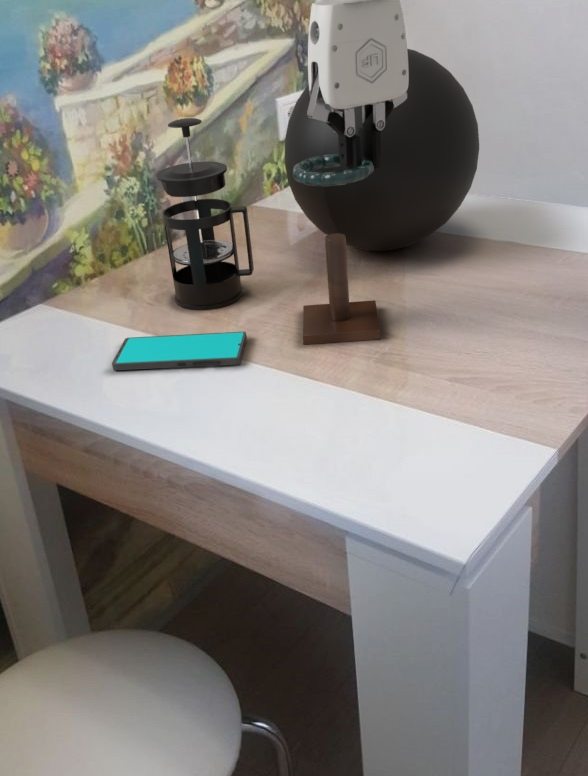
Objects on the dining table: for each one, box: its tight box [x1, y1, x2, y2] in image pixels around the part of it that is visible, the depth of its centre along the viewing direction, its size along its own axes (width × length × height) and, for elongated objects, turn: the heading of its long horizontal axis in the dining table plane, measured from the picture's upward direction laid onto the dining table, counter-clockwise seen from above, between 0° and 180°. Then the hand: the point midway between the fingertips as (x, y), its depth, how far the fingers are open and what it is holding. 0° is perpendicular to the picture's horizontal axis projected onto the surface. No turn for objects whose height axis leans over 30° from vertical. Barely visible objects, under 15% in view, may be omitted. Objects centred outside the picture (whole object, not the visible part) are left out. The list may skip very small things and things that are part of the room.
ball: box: [284, 48, 480, 252], centre depth 123 cm, size 27×27×27 cm
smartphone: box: [111, 331, 248, 371], centre depth 104 cm, size 7×1×15 cm
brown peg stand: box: [302, 233, 381, 345], centre depth 104 cm, size 9×9×11 cm
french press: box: [155, 117, 255, 311], centre depth 113 cm, size 12×9×23 cm
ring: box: [293, 154, 374, 186], centre depth 96 cm, size 9×9×1 cm
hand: (360, 167), depth 98 cm, fingers closed on ring, 1 cm apart
